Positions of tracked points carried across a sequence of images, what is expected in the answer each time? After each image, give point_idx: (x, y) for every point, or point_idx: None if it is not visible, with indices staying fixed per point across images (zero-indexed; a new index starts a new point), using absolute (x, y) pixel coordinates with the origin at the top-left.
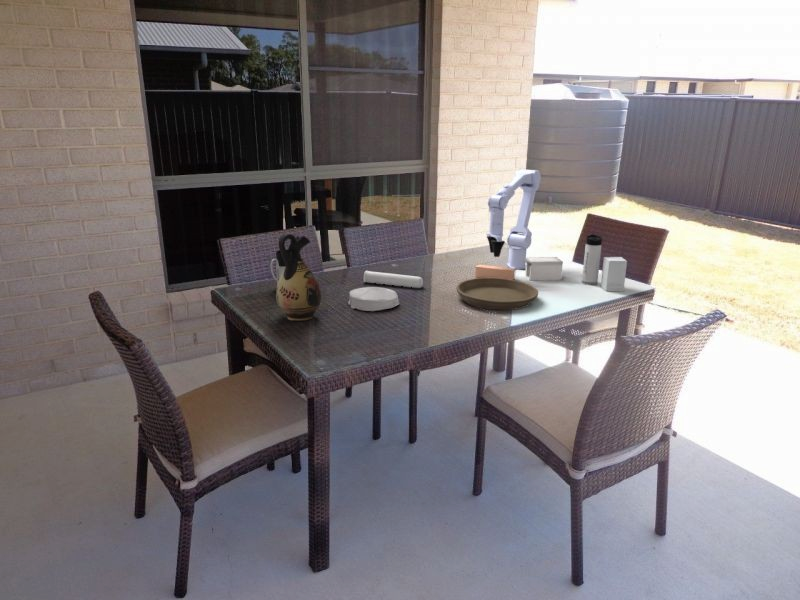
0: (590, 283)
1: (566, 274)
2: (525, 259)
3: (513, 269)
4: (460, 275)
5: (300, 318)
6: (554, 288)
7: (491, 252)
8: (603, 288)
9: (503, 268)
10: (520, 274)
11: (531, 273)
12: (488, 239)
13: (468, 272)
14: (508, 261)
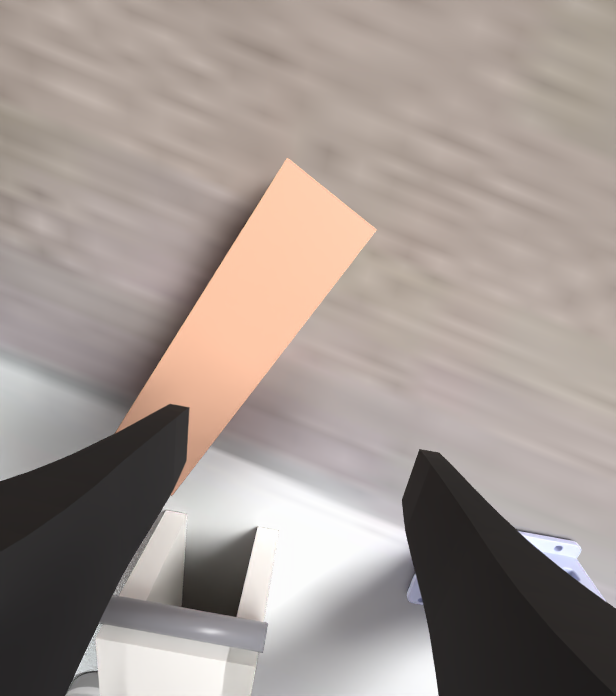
0: (69, 688)
1: (255, 683)
2: (224, 638)
3: None
4: (397, 25)
5: None
6: None
7: (418, 458)
8: None
9: None
10: (302, 514)
11: (145, 551)
12: (561, 644)
13: (476, 164)
14: (578, 568)
